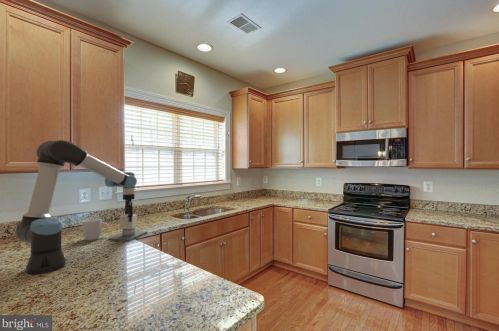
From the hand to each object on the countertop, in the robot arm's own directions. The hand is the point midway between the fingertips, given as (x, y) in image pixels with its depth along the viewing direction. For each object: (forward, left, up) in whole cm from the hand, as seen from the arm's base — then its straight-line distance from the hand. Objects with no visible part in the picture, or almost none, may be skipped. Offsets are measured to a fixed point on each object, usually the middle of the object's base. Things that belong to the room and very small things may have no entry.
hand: (128, 224), depth 174 cm
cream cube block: (0, 0, -2) cm, 2 cm away
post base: (0, 0, -8) cm, 8 cm away
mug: (-10, +19, -9) cm, 23 cm away
